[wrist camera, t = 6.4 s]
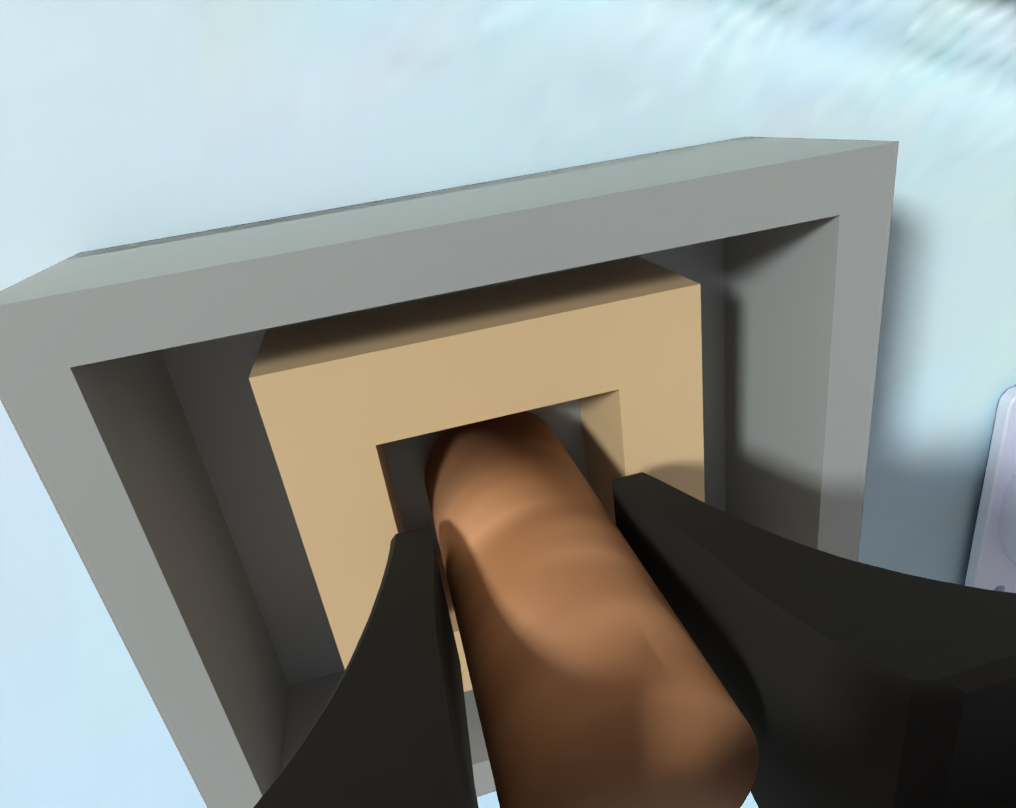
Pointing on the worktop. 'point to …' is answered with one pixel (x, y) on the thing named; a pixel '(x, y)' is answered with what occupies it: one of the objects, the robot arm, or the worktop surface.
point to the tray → (212, 466)
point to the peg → (573, 637)
